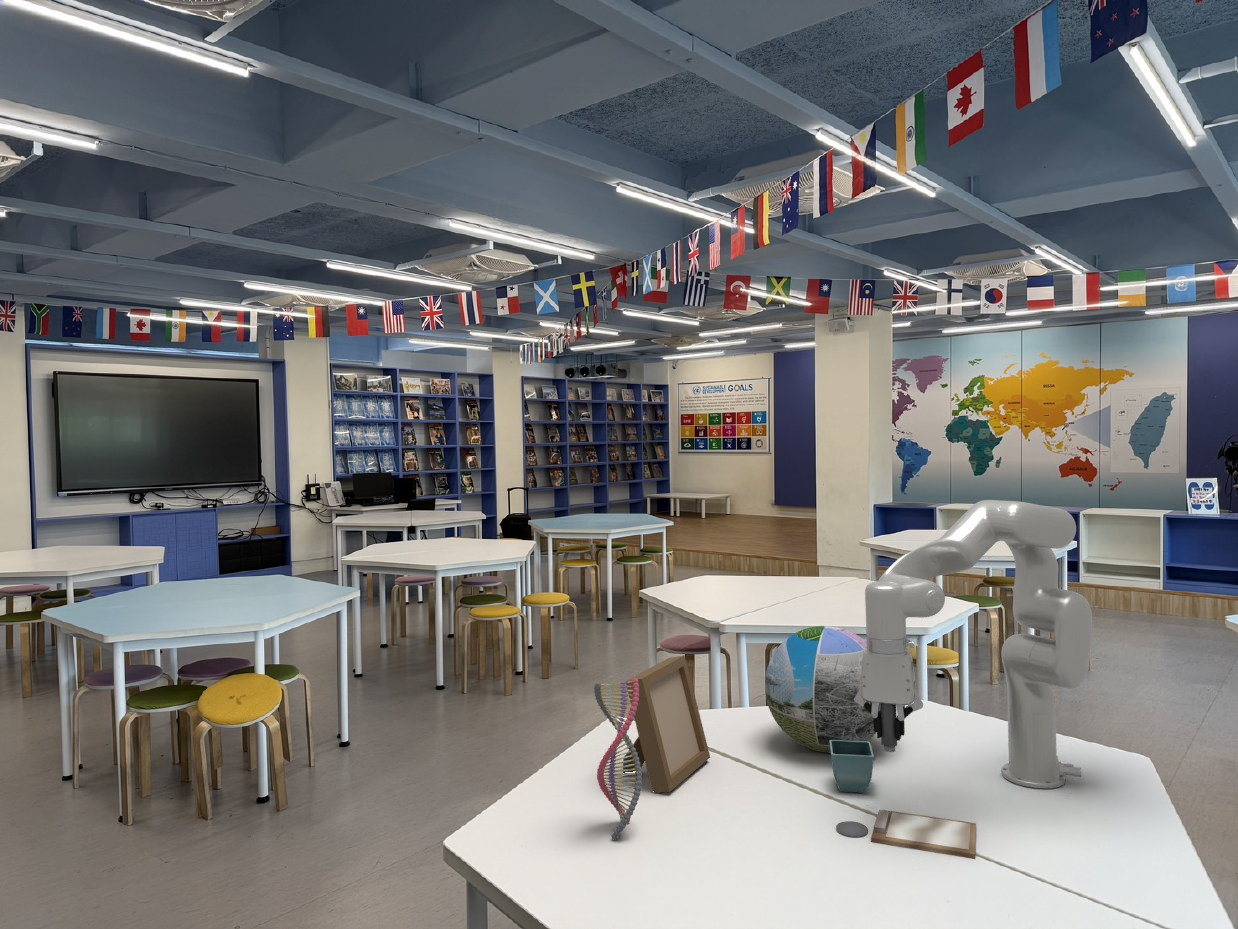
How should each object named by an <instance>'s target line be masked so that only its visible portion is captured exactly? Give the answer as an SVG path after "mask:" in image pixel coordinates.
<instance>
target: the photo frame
mask: <svg viewBox="0 0 1238 929" xmlns="http://www.w3.org/2000/svg"><path fill="white" fill-rule="evenodd" d="M634 678H637V679H638V681H639V682H638V684H639V701H638V706H637V711H636V712H635V716H634V719H633V720H634V722H635V726H636V730H637V734H638V736H637V738H636V739H635V741H634V742H633V744H634V748H636V752H637V753H638V757H639V762H640V764H641V765H640V767H641V770H642V768H643V766H644V764H645V767H646V771H647V775H648V778H649V783H650V788H651V792H652V791H654V792H657V793H658V794H659V793H669V792H671V791H672V790H674V789H675V788H676V787H677V786H678V785H680V784H681V783H682V782H683V781H685V779H687V778H688V777H690V776H691V774H692V773H694V772H695V771H696V770H697V769H699V768H700V767H701V766H702V765H703V764H704V763H706V762H707V761H708V760H709V759H710V758H711V756H710V751H709V748H708V742H707V739H706V734H705V730H704V726H703V723H702V719H701V716H700V715H701V714H700V710H699V706H698V703H697V699H696V696H695V690H694V688H693V684H692V679H691V676H690V672H689V667H688V663H687V660H686V655H685V654H684V655H679V656H671V657H667V658H666V659H664V660H662V661H661V662H658V663H657V664H655V665H653V666H652V667H649V668H648V669H644V671H642V672H640V673H638V674H636V675H634V676H633V677H630V678H629V679H627V680H626V681H627V682H628V681H632V679H634ZM625 685H627V686H632V685H633V684H632V683H628V684H625ZM626 689H627V690H633V687H629V688H626ZM627 694H633V691H632V692H627ZM628 697H629V698H628V699H632V698H633V696H628ZM629 701H630V703H632V702H633V701H631V700H629ZM630 755H631V753H627V754H624V756H623V757H626V756H630ZM622 760H623V761H627V760H633V758H632V757H627V758H624V759H622ZM623 761H622V762H623ZM629 764H634V762H633V761H631V762H627V763H622V766H625V765H629ZM634 768H635V766H628V767H622V770H624V769H634ZM633 771H635V770H631V771H622V774H623V773H625V772H633Z"/></svg>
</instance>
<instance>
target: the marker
mask: <svg viewBox="0 0 1238 929" xmlns="http://www.w3.org/2000/svg"><path fill="white" fill-rule="evenodd" d="M880 714H881V738H880V741H881V745H882V746H883V751H884V752H886V753H887V752H888V753H894V752H896V747H897V746H898V741H897V740H896V729H895V721H896V719H897V707H896V705H895V704H884V703H880Z"/></svg>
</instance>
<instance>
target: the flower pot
mask: <svg viewBox="0 0 1238 929" xmlns="http://www.w3.org/2000/svg"><path fill="white" fill-rule="evenodd" d="M829 742H830V750H831V753H830V758H831V765H832V772H833V778H834V781H835V783H836V786H837V788H838V789H839V791H840V792H842V793H843V792H845V793H846V792H848V793H866V791H867V790H868V788H869V786H870V784H871V781H872V776H873V769H874V757H875V755H874V751H873V748H872V744H871V742H870V741H867V742H866V741H844V740H830V741H829Z"/></svg>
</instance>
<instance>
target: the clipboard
mask: <svg viewBox="0 0 1238 929" xmlns="http://www.w3.org/2000/svg"><path fill="white" fill-rule="evenodd" d="M875 817H876V818H875V821H874V824H873V830H872V833H871V836H870V842H871V843H877V844H881V845H882V844H883V845H888V846H896V847H900V848H901V847H902V848H907V849H914V850H920V851H927V852H932V853H940V854H945V855H951V856H957V857H964V858H969V859H976V847H977V846H976V843H977V842H976V841H977V823H976V822H971V821H970V822H969V821H961V820H957V819H950V818H949V819H948V818H944V817H943V818H942V817H937V816H936V817H935V816H929V815H922V814H915V813H909V812H903V811H902V812H901V811H894V810H888V809H881V808H879V809H878V811H877V815H876V816H875Z"/></svg>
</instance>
